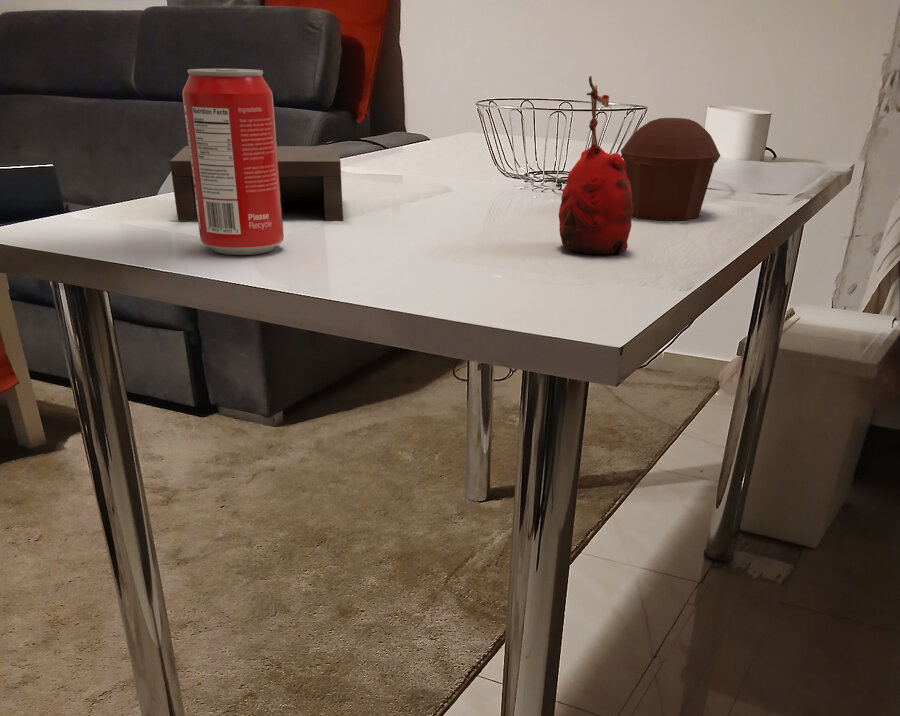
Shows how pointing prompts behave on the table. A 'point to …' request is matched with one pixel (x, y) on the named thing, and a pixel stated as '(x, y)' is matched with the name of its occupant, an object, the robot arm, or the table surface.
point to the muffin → (669, 168)
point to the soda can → (234, 160)
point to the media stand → (299, 175)
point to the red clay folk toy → (596, 198)
